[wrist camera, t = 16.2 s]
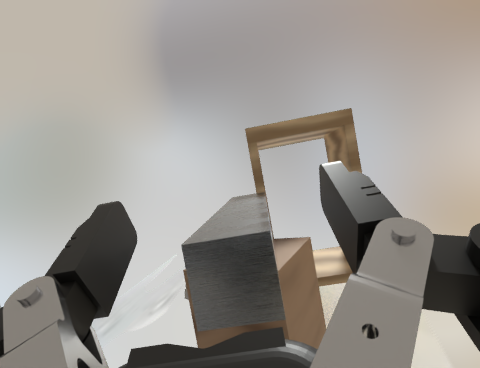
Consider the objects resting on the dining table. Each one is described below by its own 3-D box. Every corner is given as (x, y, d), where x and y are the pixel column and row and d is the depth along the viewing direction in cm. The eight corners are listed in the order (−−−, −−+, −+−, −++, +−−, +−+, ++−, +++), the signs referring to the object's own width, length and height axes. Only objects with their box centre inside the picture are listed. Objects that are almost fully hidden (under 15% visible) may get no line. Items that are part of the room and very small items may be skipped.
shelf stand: (390, 346, 38) (348, 92, 36) (286, 359, 39) (242, 113, 38) (352, 293, 54) (322, 116, 52) (279, 304, 55) (248, 130, 54)
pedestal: (227, 504, 23) (183, 270, 22) (267, 420, 30) (234, 240, 29) (327, 555, 19) (277, 272, 18) (346, 445, 26) (310, 237, 25)
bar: (285, 319, 12) (270, 230, 12) (197, 331, 13) (181, 245, 13) (270, 224, 34) (264, 191, 34) (238, 229, 35) (232, 197, 34)
